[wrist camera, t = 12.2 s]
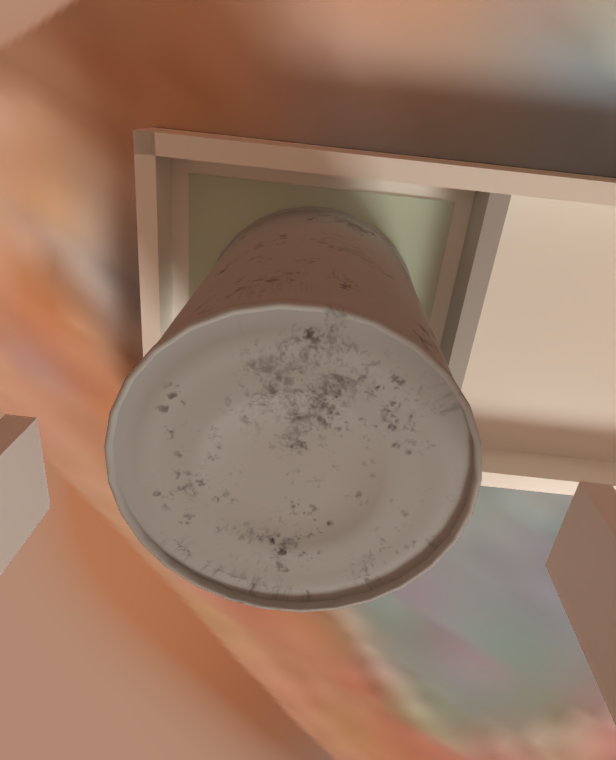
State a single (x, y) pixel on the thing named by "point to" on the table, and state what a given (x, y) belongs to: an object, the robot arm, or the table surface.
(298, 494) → the white speckled round cylinder
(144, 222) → the tray
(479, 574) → the table surface
